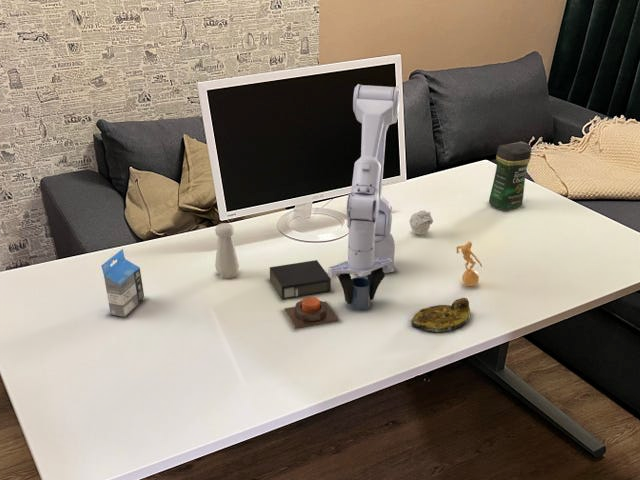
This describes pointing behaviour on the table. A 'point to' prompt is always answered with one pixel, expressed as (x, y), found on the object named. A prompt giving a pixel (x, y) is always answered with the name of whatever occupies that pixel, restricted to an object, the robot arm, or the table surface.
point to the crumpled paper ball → (420, 222)
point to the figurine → (470, 275)
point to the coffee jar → (510, 175)
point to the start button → (310, 304)
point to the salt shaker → (226, 251)
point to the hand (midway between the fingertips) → (359, 300)
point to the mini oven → (300, 279)
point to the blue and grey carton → (122, 285)
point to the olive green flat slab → (443, 316)
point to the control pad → (310, 315)
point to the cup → (360, 294)
